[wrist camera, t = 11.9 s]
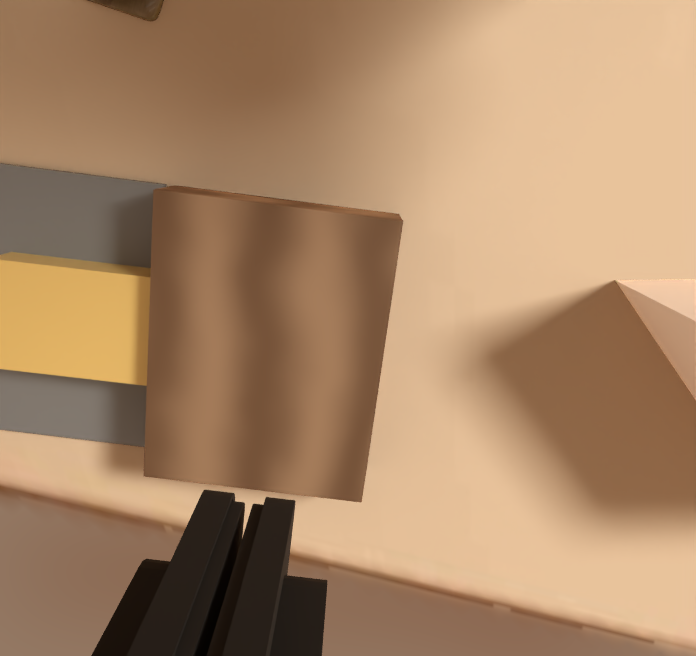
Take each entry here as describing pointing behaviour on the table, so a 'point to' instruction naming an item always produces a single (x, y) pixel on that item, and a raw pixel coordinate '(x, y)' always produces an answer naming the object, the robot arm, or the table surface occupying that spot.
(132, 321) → the yellow sticky note pad
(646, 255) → the table surface
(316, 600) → the robot arm
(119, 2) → the bread roll
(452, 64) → the table surface
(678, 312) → the white rectangular block
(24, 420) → the mat
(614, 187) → the table surface
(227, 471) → the plate
